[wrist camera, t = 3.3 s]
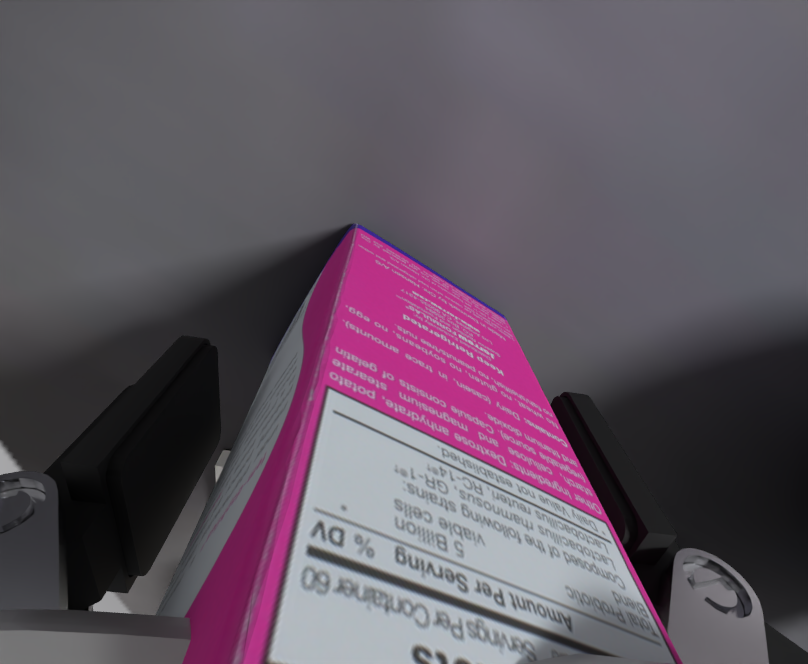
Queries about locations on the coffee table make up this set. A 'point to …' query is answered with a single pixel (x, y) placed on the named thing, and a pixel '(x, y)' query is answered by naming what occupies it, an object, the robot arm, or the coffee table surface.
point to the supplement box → (404, 496)
